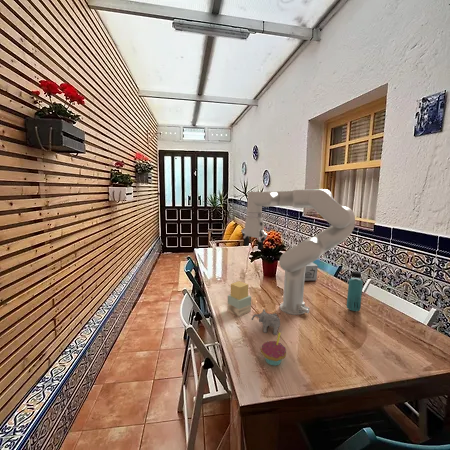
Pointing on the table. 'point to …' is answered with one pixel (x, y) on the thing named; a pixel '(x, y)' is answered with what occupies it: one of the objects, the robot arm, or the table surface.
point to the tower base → (239, 310)
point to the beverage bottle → (354, 292)
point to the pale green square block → (239, 301)
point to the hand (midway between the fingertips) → (253, 247)
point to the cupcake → (273, 351)
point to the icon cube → (311, 272)
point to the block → (239, 290)
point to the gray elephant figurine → (268, 321)
